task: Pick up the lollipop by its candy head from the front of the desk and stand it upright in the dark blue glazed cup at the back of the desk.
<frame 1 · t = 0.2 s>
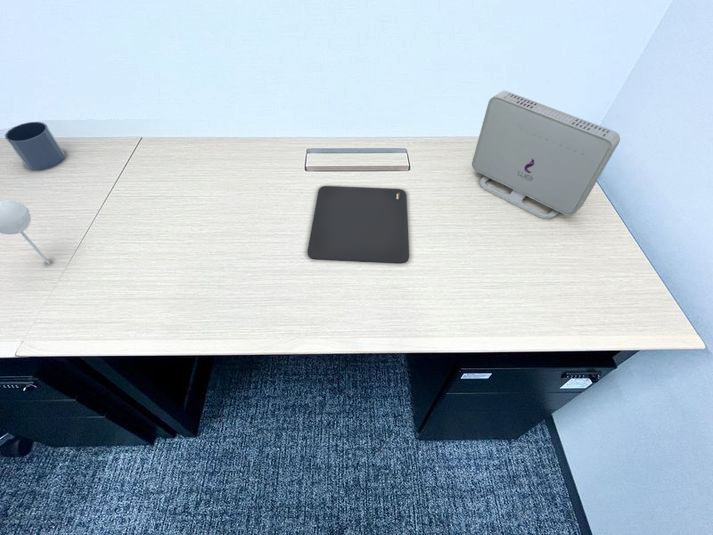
cup: (46, 160, 99), on the table
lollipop: (49, 264, 77), on the table
network device: (520, 194, 93), on the table
mouse pad: (360, 222, 86), on the table
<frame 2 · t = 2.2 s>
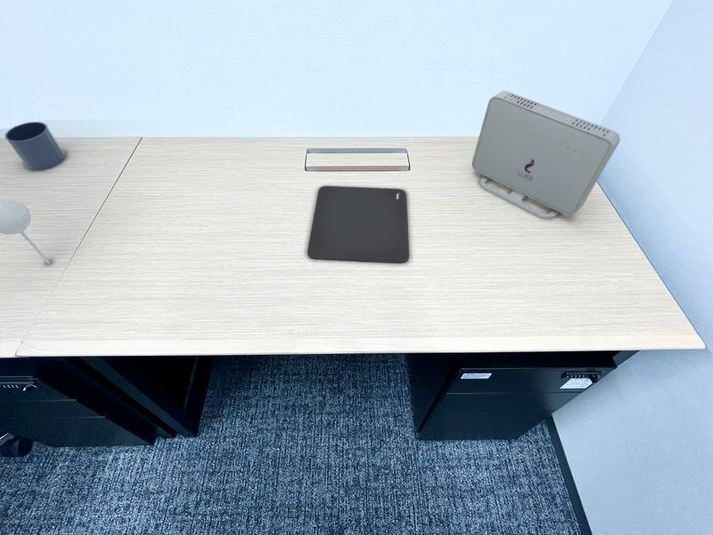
nothing on the table moved.
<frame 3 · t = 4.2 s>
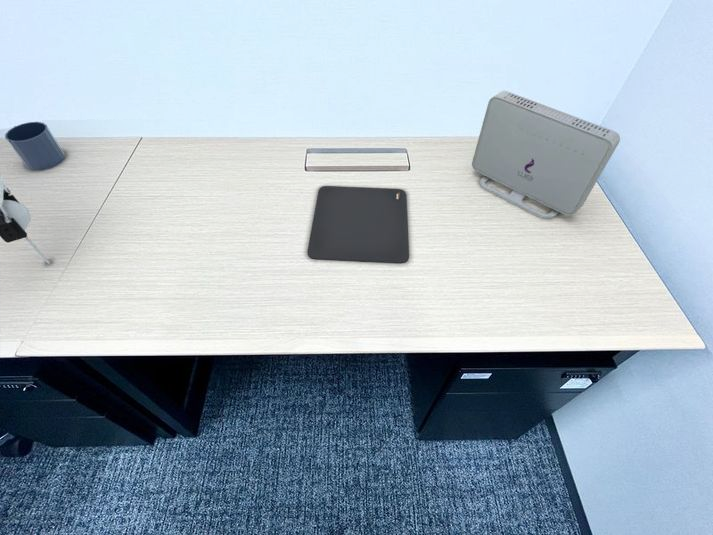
hand: (16, 226, 70), 10 cm above the table, tool pointing down, fingers closed on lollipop, 5 cm apart
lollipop: (49, 264, 77), on the table, touching gripper
everything else where it was.
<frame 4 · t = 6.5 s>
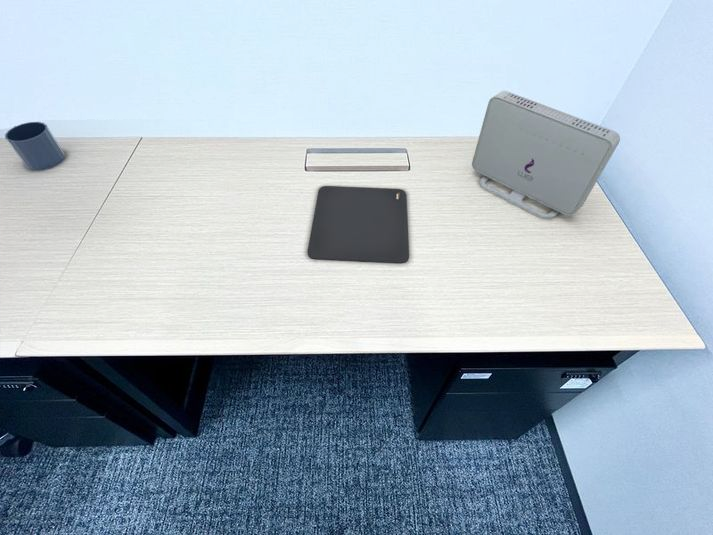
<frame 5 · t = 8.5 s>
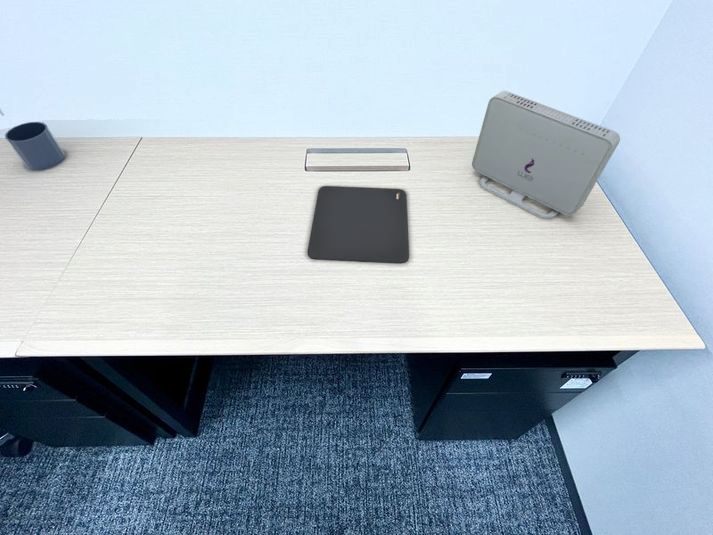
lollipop: (3, 116, 84), point 15 cm above the table, touching gripper
everything else where it was.
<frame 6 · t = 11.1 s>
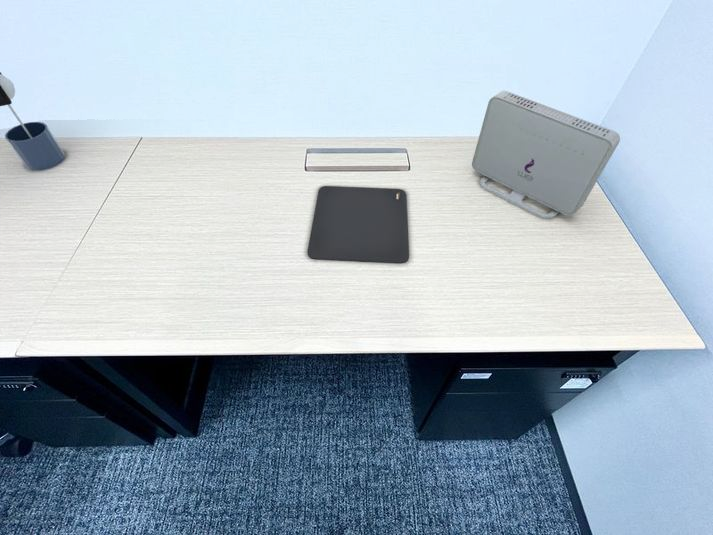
hand: (3, 97, 87), 16 cm above the table, tool pointing down, fingers closed on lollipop, 5 cm apart
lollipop: (32, 138, 95), point 6 cm above the table, touching gripper
everything else where it was.
when the fingers open (11 cm above the table, at t = 13.0 s): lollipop stays where it is, resting on cup.
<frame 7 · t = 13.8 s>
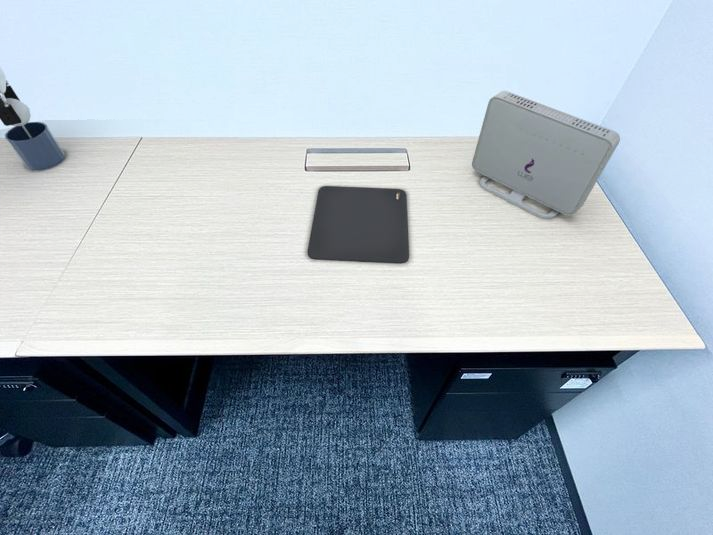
hand: (13, 113, 90), 12 cm above the table, tool pointing down, fingers open, 9 cm apart
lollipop: (45, 159, 99), resting on cup
everything else where it was.
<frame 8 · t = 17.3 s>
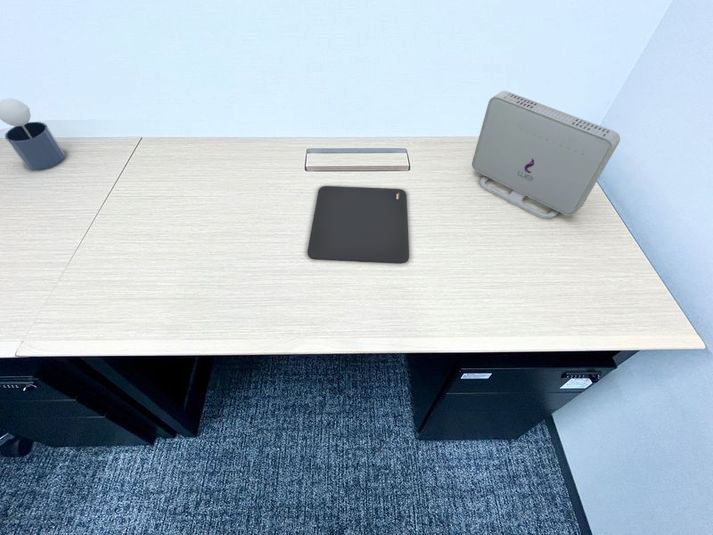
nothing on the table moved.
at the end: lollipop 0.1 cm off-centre in the cup, point 0.4 cm above the cup's base; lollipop tilted 0°; the gripper is holding nothing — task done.
